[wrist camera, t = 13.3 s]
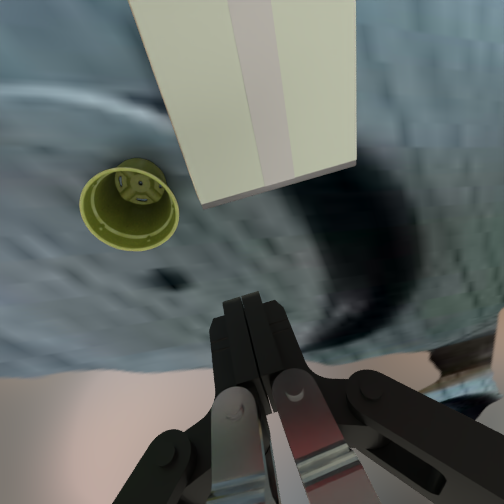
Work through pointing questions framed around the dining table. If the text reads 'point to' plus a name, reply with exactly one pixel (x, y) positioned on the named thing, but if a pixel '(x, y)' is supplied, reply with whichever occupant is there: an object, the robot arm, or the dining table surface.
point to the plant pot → (130, 206)
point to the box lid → (255, 89)
